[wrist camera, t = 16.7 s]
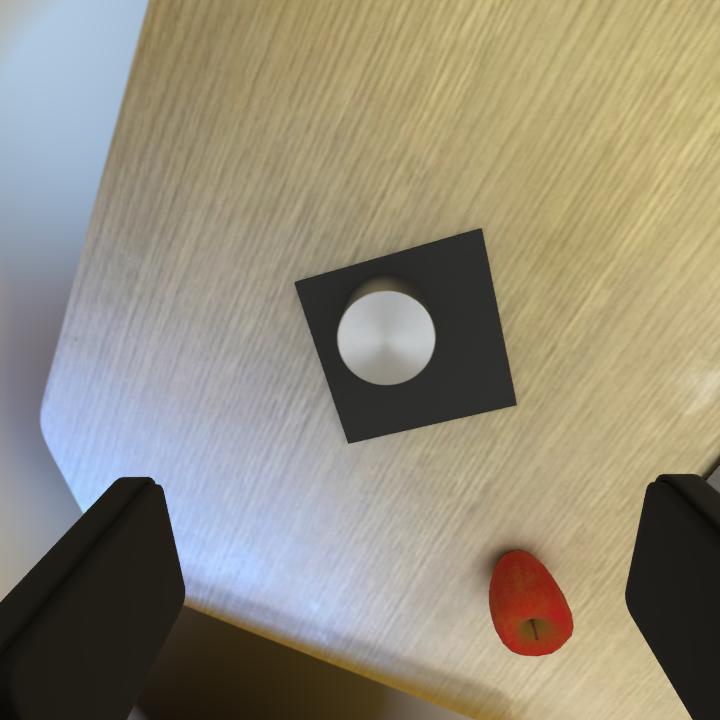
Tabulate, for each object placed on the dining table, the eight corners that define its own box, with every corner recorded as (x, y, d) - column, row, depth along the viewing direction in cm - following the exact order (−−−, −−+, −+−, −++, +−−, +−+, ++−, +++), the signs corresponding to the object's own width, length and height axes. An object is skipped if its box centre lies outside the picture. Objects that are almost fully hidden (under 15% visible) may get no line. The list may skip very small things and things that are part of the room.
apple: (479, 536, 41) (499, 606, 34) (550, 535, 40) (584, 607, 33) (477, 590, 43) (495, 667, 36) (544, 590, 42) (576, 668, 35)
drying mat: (348, 441, 38) (348, 443, 38) (295, 281, 34) (294, 282, 33) (515, 402, 36) (516, 405, 36) (480, 228, 32) (481, 228, 31)
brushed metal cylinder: (359, 359, 35) (352, 395, 29) (336, 285, 33) (323, 305, 27) (434, 340, 34) (446, 372, 28) (415, 263, 32) (422, 278, 26)
